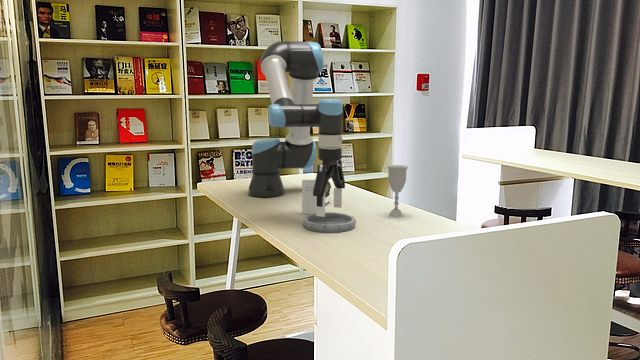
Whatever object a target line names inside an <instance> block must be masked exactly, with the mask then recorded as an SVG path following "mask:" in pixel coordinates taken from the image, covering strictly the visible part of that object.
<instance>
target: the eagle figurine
mask: <svg viewBox="0 0 640 360" xmlns="http://www.w3.org/2000/svg"><path fill="white" fill-rule="evenodd" d="M331 188H332V184H331V183H330V181H328V184H327V187H326V190H325V205H327V204H328V203H330V201H329V200H328V199H327V198H328V197H329V196H330V191H331Z"/></svg>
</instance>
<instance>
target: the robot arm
mask: <svg viewBox="0 0 640 360" xmlns="http://www.w3.org/2000/svg"><path fill="white" fill-rule="evenodd" d="M259 61H260V62H259V63H260V65H259V67H260V70H261V73H262V74H263V75H264V76H265V80H266V84H267V89H268V93H269V97H270V98H269V99H270V102H271V104H269V105H268V109H267V120H268V121H267V122H268V125H269V126H270V127H271V128H282V129H283V128H289V129H288V130H289V131H288V132H289V133H287V135H286V136H285V139H284V141H281V140H280V138H278V137H275V138H274V137H268V138H264V139H263V138H262V139H259V140H256V141H254V142H253V143H252V145H251V155H252V156H251V157H252V162H251V163H252V165H251V166H252V172H251V173H252V176H251V180H250V184H249V186H248V195H250V196H251V197H261V198H270V197H280V196H282V195H284V194H285V187H284V184H283V180H282V177H281V170H284V169H285V170H287V169H289V170H290V169H291V170H292V169H301V170H302V169H308V168H311V167H312V166H314V163H315V160H316V158H317V157H318V160H320V161H322V163H321V164H318V165H317V172H316V176H315V179H314V180H315V185H314V190H313V196H316V216H321V217H325V213H326V204H325V198H326V197H325V196H324V193H325V190H326V187H327V184H328V181H329V180H332V183H333V185H334V188H333V208H336V209H337V208H338V209H341V208H343V204H342V203H343V189H345V188H346V182H345V181H346V180H345V176H344V171H343V161H342V157H343V155H342V152H343V151H342V148H341V147H342V145H343V143H342V142H343V141H344V139H343V135H342V134H343V133H342V132H343V113H344V111H343V101H342V100H341V99H338V98H337V99H335V98H334V99H333V98H329V99H328V98H326V99H325V98H324V99H323V98H322V99H319V101H318V103H315V104H314V103H313V94H314V93H313V92H314V83H315V81H316V80H317V79H318V78H319V74H320V73H322V72H323V71H324V55H323V49H322V47H321V45H320V43H318V42H316V41H308V40H305V41H296V40H295V41H294V40H293V41H291V40H290V41H289V40H288V41H287V40H279V41H276V42H274V43H272V44H270V45H269V46H268V47H266V49H265V50H264V51H263V53H262V55H261V57H260V60H259ZM287 73H288V75H287ZM288 77H289V78H290V79H291V81H292V82H291V86H290V84H289V83H290V82H289V80H288ZM312 127H313V128H317V127H318V139H317V140H318V143H317V144H318V147H319V148H318V153H317V145H316V141H315V140H314V138H313V137H312V136H311V135H310V133H311V128H312ZM317 154H318V156H317ZM316 156H317V157H316ZM329 182H330V181H329Z"/></svg>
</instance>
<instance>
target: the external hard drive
mask: <svg viewBox="0 0 640 360" xmlns="http://www.w3.org/2000/svg"><path fill="white" fill-rule="evenodd" d="M315 180H316V179H309V178H308V179H304V178H303V179H301V183H302V184H301V185H302V186H301V214H303V215H309V214H315V213H316V196H313V190H314V185H315ZM324 196H325V193H324Z"/></svg>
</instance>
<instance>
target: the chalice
mask: <svg viewBox="0 0 640 360" xmlns="http://www.w3.org/2000/svg"><path fill="white" fill-rule="evenodd" d="M408 168H409V166H408V165H405V164H404V165H402V164H391V165H390V164H389V165H387V170H388V179H387V180H388V183H389V186H390V188H391V190H392V192H393V193H394V197H393V198H394V202H393V203H394V208H393V209H392V210H390V213H389V215H388V217H389V218H393V219H400V218H403V217H404V215H403V212H402V211H401V209H399V207H398V206H399V199H400V197H399V194H400V193H401V192H402V190H403V189H404V187H405V184H406V182H407V170H408Z"/></svg>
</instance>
